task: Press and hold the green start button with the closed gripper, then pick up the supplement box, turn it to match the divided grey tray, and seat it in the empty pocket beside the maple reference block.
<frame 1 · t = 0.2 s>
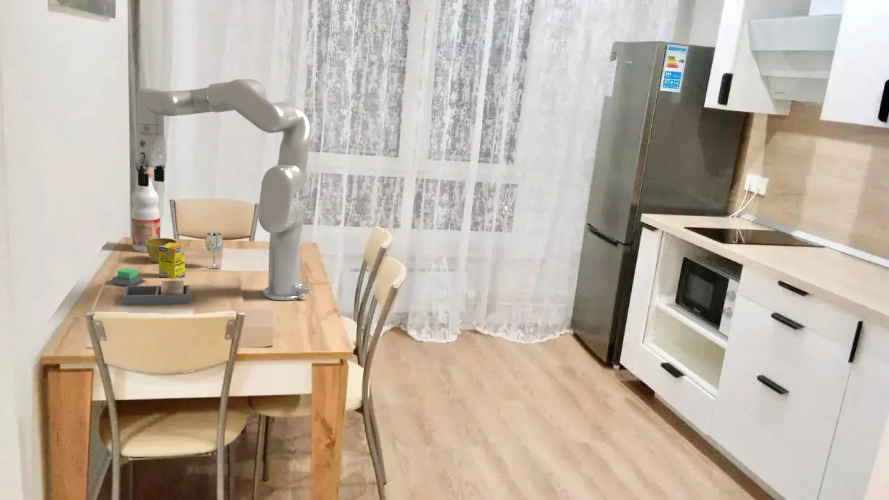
hand: (151, 183, 218), 31 cm above the table, tool pointing down, fingers open, 9 cm apart
fruit juice: (146, 249, 253), on the table
start button: (127, 274, 213), point 4 cm above the table, slide at 0.0 cm
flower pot: (161, 261, 241), on the table
divided grey tray: (157, 301, 203), on the table
supplement box: (172, 278, 225), on the table
button housing: (128, 285, 214), on the table
wineglass: (214, 267, 240), on the table
reference block: (172, 298, 204), point 1 cm above the table, touching divided grey tray
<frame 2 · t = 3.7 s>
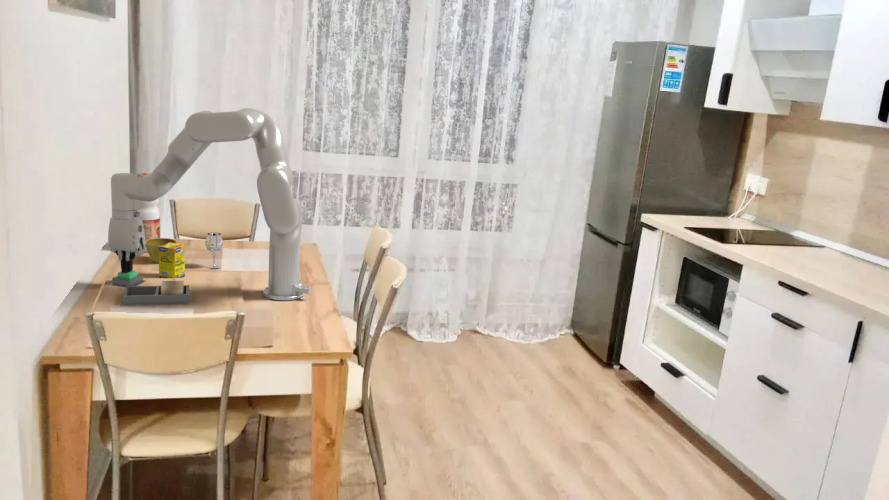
hand: (126, 271, 213), 4 cm above the table, tool pointing down, fingers closed
start button: (127, 275, 213), point 3 cm above the table, slide at 0.5 cm, touching gripper
everything else where it was.
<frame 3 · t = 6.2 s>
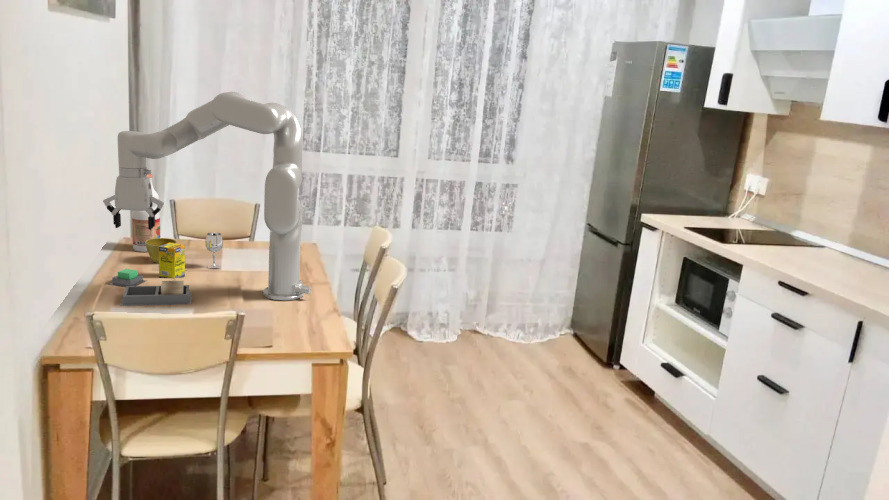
hand: (134, 227, 211), 18 cm above the table, tool pointing down, fingers open, 9 cm apart
start button: (127, 274, 213), point 3 cm above the table, slide at 0.3 cm
everything else where it was.
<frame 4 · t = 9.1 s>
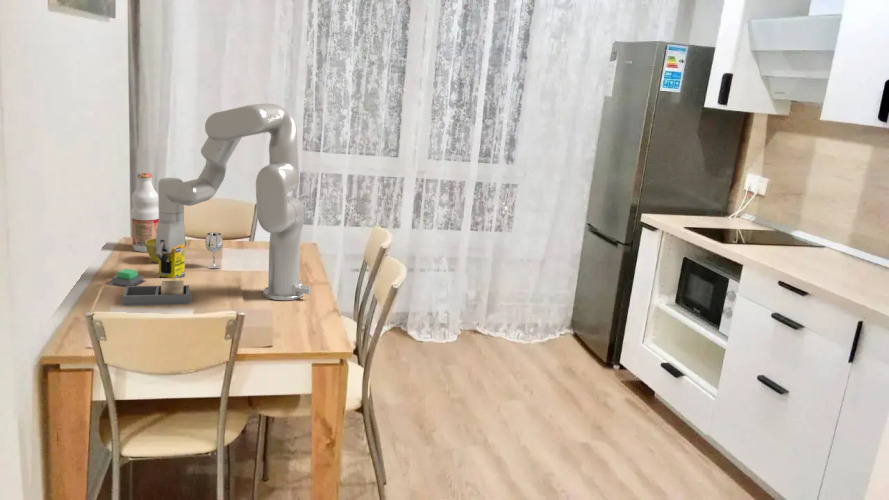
hand: (172, 269, 225), 3 cm above the table, tool pointing down, fingers closed on supplement box, 6 cm apart
supplement box: (172, 277, 225), on the table, touching gripper
everything else where it was.
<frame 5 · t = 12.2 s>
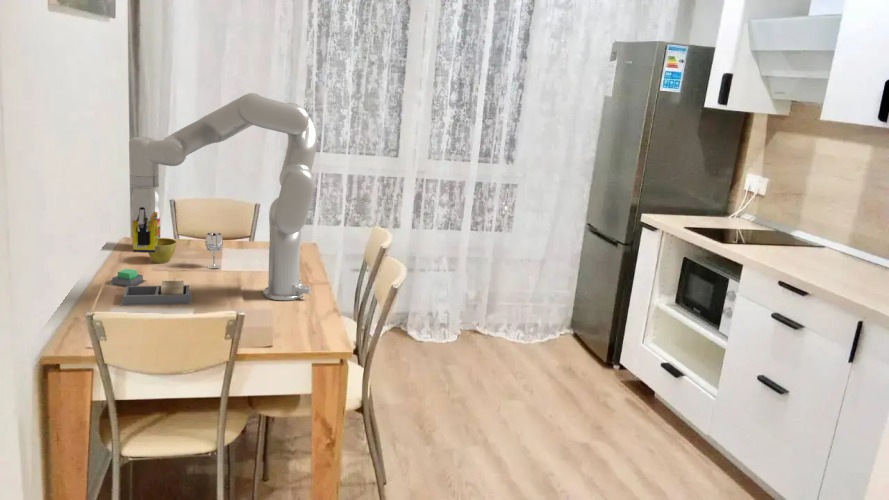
hand: (145, 241, 201), 18 cm above the table, tool pointing down, fingers closed on supplement box, 6 cm apart
supplement box: (146, 250, 202), point 15 cm above the table, touching gripper
everything else where it was.
when the fingers open (5 cm above the table, at t = 15.4 s): supplement box drops 1 cm, resting on divided grey tray.
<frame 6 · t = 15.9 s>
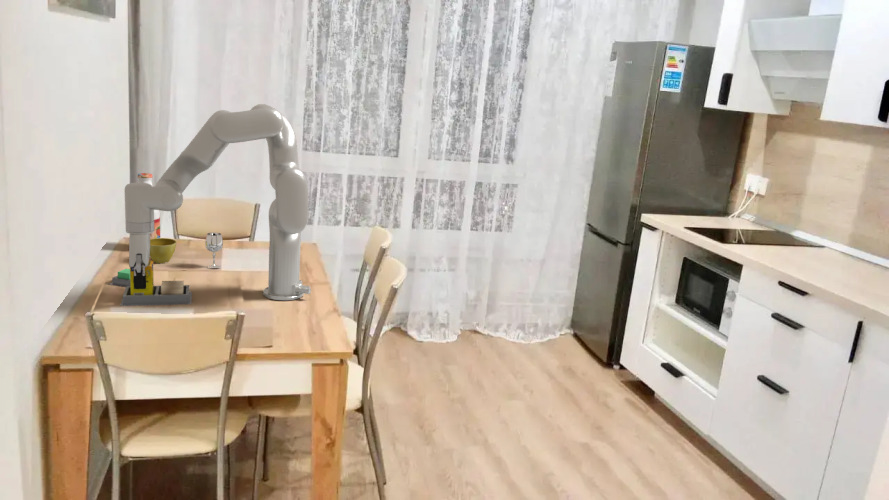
hand: (141, 283, 200), 6 cm above the table, tool pointing down, fingers open, 9 cm apart
supplement box: (142, 299, 202), point 1 cm above the table, touching divided grey tray
everything else where it was.
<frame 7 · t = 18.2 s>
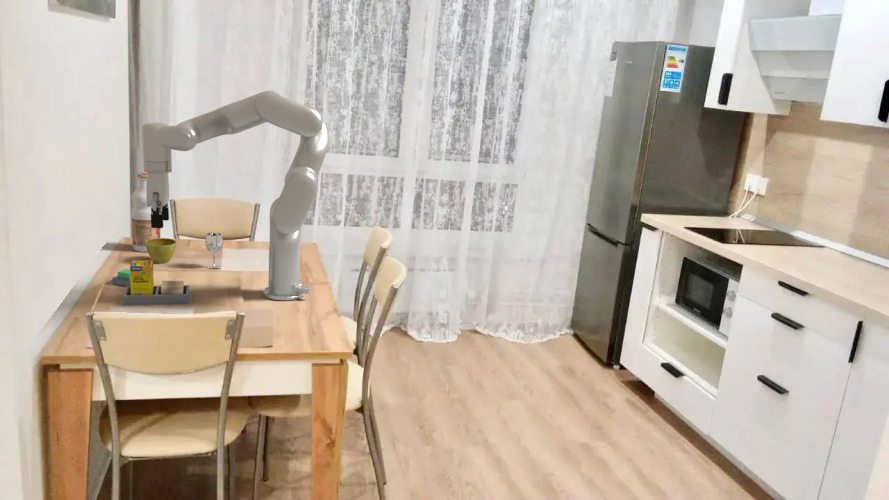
hand: (160, 223, 203), 22 cm above the table, tool pointing down, fingers open, 9 cm apart
nothing on the table moved.
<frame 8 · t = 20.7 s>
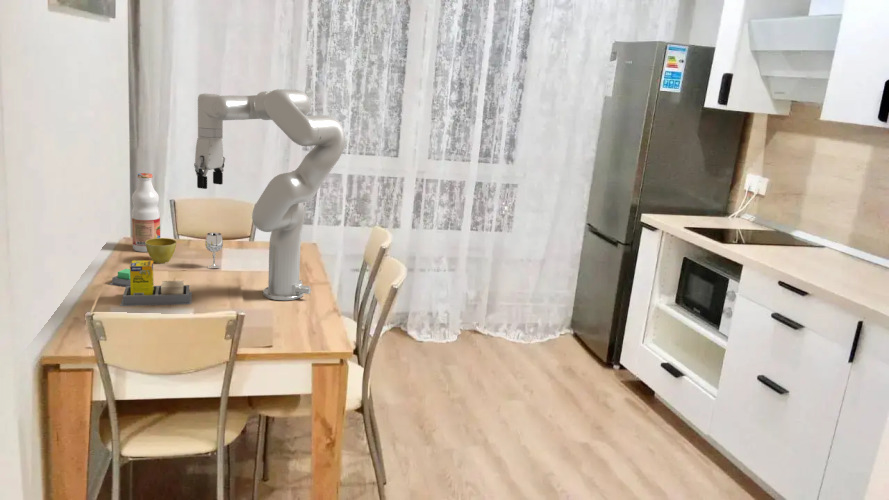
hand: (210, 186, 224), 30 cm above the table, tool pointing down, fingers open, 9 cm apart
nothing on the table moved.
at the end: supplement box 0.3 cm from the target spot, point 0.8 cm above the table; supplement box tilted 0°; the gripper is holding nothing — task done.
